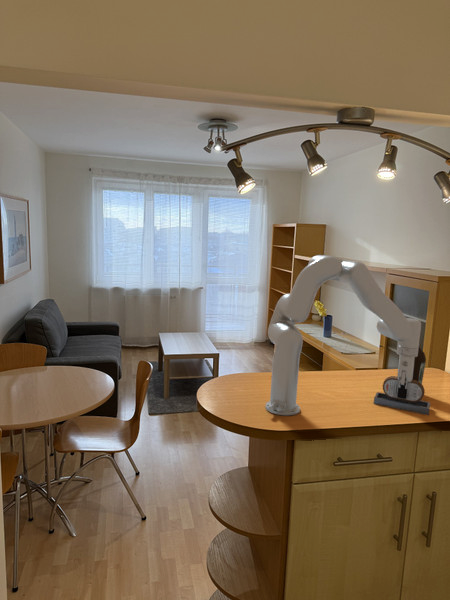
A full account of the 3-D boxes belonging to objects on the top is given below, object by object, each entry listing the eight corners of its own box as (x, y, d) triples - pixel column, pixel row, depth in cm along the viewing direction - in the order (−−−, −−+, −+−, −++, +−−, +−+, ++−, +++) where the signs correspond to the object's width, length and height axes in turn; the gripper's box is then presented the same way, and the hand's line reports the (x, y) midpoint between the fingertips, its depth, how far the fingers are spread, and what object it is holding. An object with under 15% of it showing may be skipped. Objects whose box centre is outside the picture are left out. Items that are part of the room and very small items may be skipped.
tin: (423, 402, 164) (425, 381, 163) (422, 405, 161) (425, 383, 160) (382, 394, 171) (384, 373, 170) (380, 396, 168) (383, 375, 167)
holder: (428, 415, 159) (429, 408, 159) (373, 403, 168) (374, 397, 168) (429, 408, 166) (430, 402, 165) (376, 397, 175) (377, 391, 174)
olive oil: (392, 393, 180) (399, 335, 177) (396, 387, 189) (402, 331, 186) (420, 399, 175) (427, 340, 172) (423, 392, 184) (429, 335, 181)
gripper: (416, 356, 155) (410, 405, 157) (419, 348, 169) (414, 392, 172) (394, 353, 158) (389, 401, 161) (399, 345, 173) (394, 388, 175)
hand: (402, 396), depth 166 cm, fingers closed on tin, 2 cm apart
